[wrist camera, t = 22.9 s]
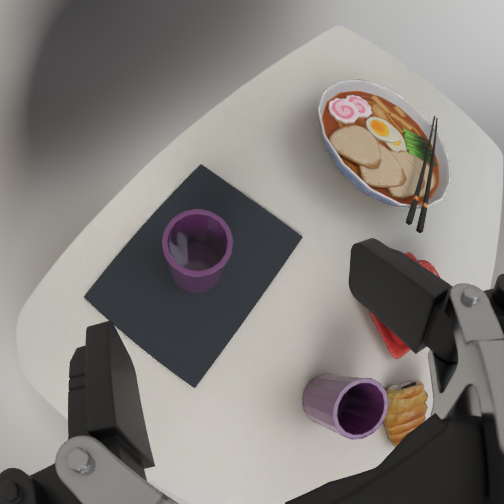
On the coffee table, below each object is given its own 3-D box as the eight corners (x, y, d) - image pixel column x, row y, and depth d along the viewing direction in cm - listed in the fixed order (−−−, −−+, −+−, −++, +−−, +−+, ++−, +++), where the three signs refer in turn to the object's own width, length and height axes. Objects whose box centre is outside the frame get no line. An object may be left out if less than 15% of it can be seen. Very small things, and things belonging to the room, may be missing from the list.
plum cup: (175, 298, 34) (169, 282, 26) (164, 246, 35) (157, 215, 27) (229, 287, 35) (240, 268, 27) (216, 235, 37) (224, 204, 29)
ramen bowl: (334, 86, 50) (351, 55, 42) (433, 157, 50) (459, 133, 42) (269, 174, 41) (286, 137, 33) (404, 265, 41) (441, 247, 33)
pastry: (418, 436, 33) (435, 440, 30) (379, 452, 32) (395, 459, 28) (415, 376, 36) (433, 376, 33) (376, 388, 35) (393, 391, 31)
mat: (194, 387, 31) (194, 388, 31) (85, 297, 32) (83, 297, 31) (301, 237, 39) (302, 236, 39) (200, 165, 40) (200, 164, 39)
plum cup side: (308, 430, 32) (340, 449, 24) (296, 383, 33) (326, 392, 25) (353, 411, 33) (392, 422, 25) (342, 366, 35) (381, 368, 27)
